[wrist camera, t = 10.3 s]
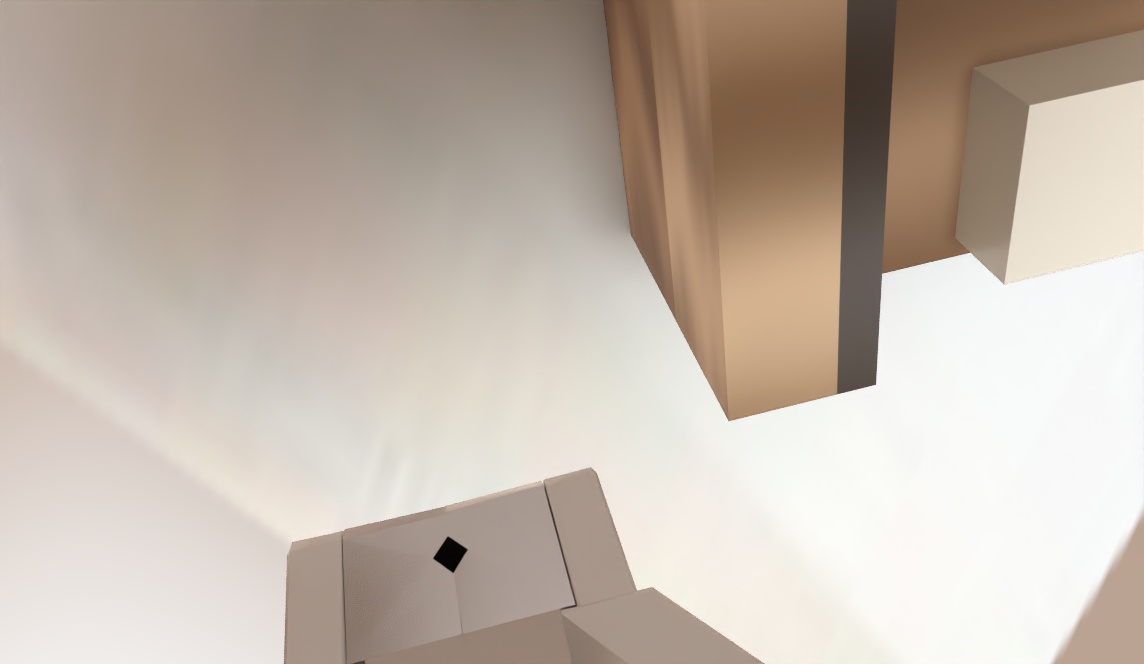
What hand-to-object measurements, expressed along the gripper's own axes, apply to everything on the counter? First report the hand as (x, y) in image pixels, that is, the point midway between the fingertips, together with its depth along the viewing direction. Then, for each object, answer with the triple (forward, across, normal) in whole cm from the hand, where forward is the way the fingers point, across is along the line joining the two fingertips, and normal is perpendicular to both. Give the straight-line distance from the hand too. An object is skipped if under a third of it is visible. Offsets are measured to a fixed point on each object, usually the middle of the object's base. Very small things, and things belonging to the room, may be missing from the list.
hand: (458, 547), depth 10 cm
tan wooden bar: (+10, -6, 0) cm, 12 cm away
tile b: (+10, -14, +3) cm, 17 cm away
